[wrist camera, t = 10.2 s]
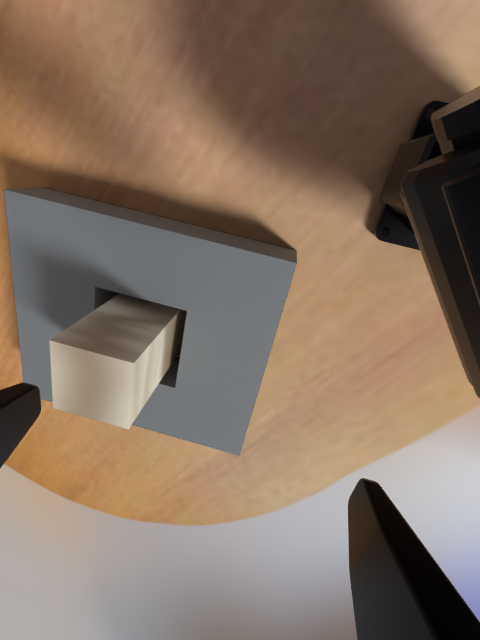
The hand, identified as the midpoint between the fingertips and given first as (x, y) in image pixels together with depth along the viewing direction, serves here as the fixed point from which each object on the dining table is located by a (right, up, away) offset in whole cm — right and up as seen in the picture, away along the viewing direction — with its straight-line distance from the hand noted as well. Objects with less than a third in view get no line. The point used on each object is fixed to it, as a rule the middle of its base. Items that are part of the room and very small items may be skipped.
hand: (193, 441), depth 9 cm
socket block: (-5, +3, +14) cm, 15 cm away
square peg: (-5, +3, +14) cm, 15 cm away
